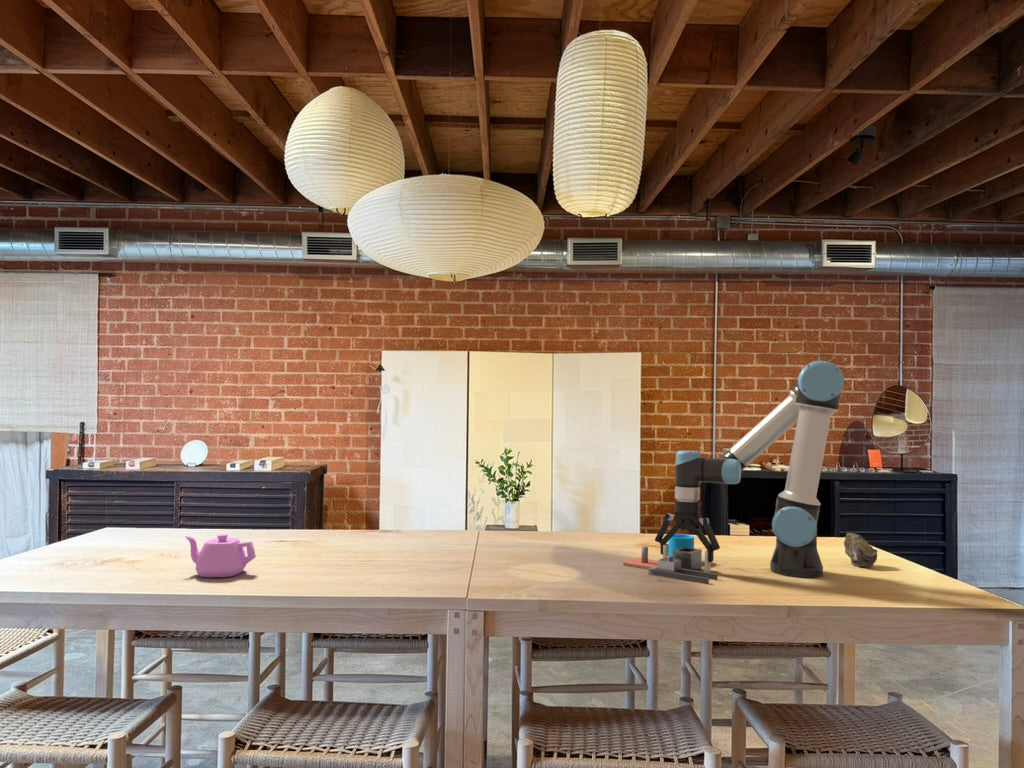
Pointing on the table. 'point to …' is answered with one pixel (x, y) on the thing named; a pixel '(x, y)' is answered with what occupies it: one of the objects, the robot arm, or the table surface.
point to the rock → (859, 550)
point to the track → (685, 575)
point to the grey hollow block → (689, 558)
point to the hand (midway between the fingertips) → (686, 569)
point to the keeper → (642, 561)
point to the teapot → (221, 556)
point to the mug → (680, 542)
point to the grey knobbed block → (670, 564)
